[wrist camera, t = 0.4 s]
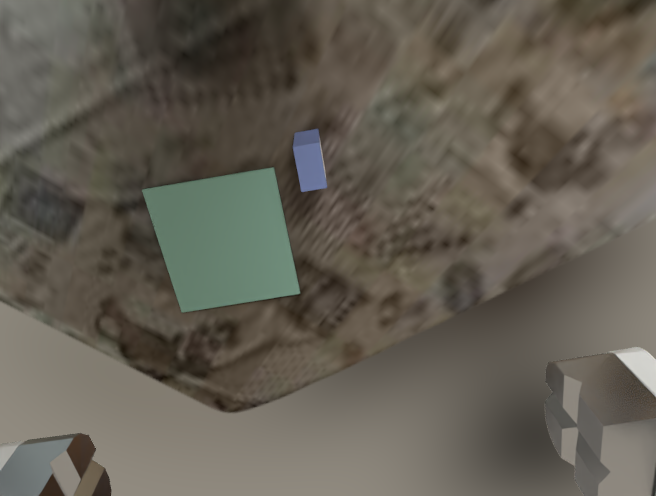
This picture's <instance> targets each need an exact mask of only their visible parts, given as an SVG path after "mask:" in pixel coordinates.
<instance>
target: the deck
mask: <svg viewBox="0 0 656 496" xmlns="http://www.w3.org/2000/svg"><path fill="white" fill-rule="evenodd" d="M293 151H294V156H295V161H296V166H297V171H298V177H299V182H300V187H301V192H305V191H311V190H317V189H323V188H327V182H326V174H325V167H324V160H323V154H322V149H321V143H320V137H319V131H318V129H314V130H308V131H303V132H297V133H295V135H294V142H293Z"/></svg>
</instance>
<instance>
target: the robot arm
mask: <svg viewBox="0 0 656 496" xmlns="http://www.w3.org/2000/svg"><path fill="white" fill-rule="evenodd" d="M545 382H546V383H547V385H548V386H549V387H550V389H551V391H552V394H551V395H550V396H549V397H548V399H547V400H546V401H545V418H546V423H547V426H548V431H549V435H550V437H551V439H552V441H553V444H554V446H555V448H556V450H557V451H558V453H559V455H560V457H561V458H562V459H564V460H566V461H567V462H569V463H571V464H572V465H574V466H575V482H576V483H577V485H578V487H579V488H580V490H581V492H582V493H583V494H584V496H656V359H655V358H653V357H652V356H651V355H650V354H649V353H648V352H647V351H646V350H644V349H642V348H639V347H634V348H629V349H622V350H617V351H611V352H607V353H603V354H597V355H591V356H584V357H578V358H572V359H566V360H560V361H553V362H548V365H547V367H546V378H545ZM95 451H96V448H95V446H94V444H93V442H92V441H91V438H90V437H89V435H85V434H82V433H78V434H70V435H63V436H55V437H47V438H40V439H32V440H27V441H20V442H12V443H4V444H0V496H111V485H110V479H109V476H108V474H107V472H106V469H105V468H104V467H103V466H101V465H100V464H98V463H97V462H95V461H93V460H92V458H93V456H94V453H95Z"/></svg>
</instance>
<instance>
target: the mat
mask: <svg viewBox="0 0 656 496" xmlns="http://www.w3.org/2000/svg"><path fill="white" fill-rule="evenodd" d="M142 192H143V195H144V198H145V201H146V204H147V208H148V211H149V214H150V217H151V220H152V223H153V226H154V229H155V232H156V235H157V238H158V241H159V244H160V247H161V251H162V254H163V257H164V260H165V263H166V266H167V269H168V272H169V275H170V278H171V281H172V284H173V287H174V290H175V294H176V297H177V300H178V303H179V306H180V309H181V312H182V313H183V312H189V311H195V310H202V309H208V308H214V307H220V306H227V305H233V304H239V303H245V302H252V301H258V300H264V299H270V298H277V297H283V296H289V295H295V294H300V289H299V284H298V279H297V275H296V270H295V265H294V260H293V256H292V251H291V246H290V241H289V236H288V232H287V227H286V222H285V217H284V213H283V208H282V203H281V198H280V194H279V189H278V184H277V179H276V174H275V170H274V167H271V168H265V169H259V170H254V171H248V172H242V173H236V174H230V175H224V176H218V177H212V178H206V179H200V180H194V181H188V182H182V183H176V184H171V185H165V186H159V187H153V188H147V189H143V190H142Z"/></svg>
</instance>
